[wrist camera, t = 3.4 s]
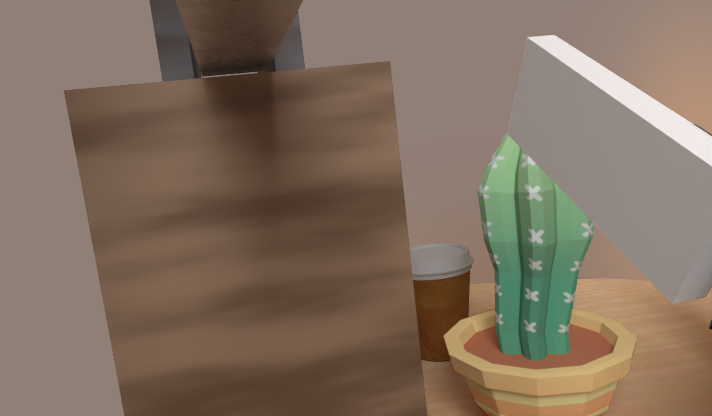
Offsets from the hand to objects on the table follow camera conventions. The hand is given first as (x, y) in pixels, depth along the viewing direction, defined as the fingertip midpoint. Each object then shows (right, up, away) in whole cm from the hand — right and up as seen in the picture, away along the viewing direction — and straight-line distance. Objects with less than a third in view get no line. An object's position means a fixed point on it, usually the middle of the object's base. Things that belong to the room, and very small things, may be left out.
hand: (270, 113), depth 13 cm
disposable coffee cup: (+12, -19, +52) cm, 56 cm away
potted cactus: (+18, -21, +34) cm, 44 cm away
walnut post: (-2, -24, +27) cm, 36 cm away
